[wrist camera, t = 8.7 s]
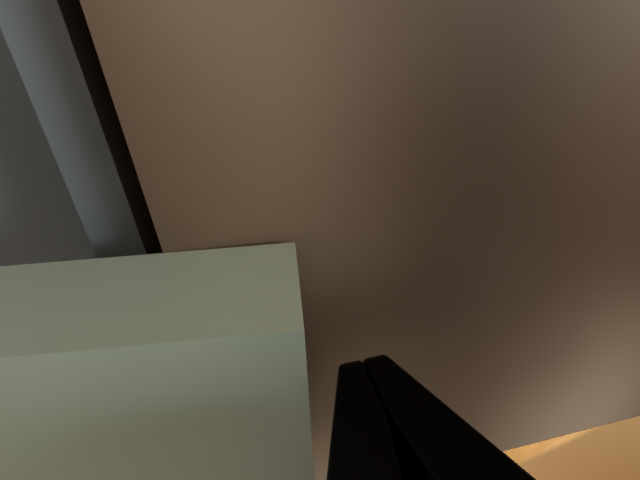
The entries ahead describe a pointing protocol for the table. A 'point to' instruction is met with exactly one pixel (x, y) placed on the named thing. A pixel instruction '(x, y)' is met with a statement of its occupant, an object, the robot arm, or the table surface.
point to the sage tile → (155, 368)
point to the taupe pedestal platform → (410, 184)
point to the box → (62, 145)
